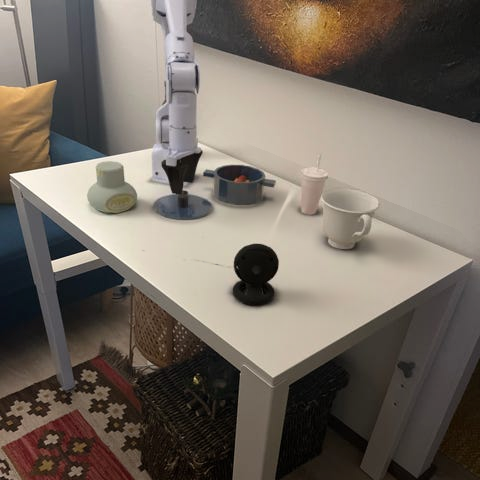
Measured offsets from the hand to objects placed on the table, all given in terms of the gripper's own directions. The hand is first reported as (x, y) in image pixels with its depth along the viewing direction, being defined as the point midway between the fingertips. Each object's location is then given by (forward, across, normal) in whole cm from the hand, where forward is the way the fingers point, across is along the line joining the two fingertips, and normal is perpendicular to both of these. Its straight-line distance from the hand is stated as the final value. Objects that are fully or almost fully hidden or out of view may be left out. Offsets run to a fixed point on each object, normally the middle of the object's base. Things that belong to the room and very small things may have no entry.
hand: (182, 187), depth 113 cm
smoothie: (+6, +11, -28) cm, 31 cm away
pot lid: (+5, 0, 0) cm, 5 cm away
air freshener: (+6, -6, +15) cm, 17 cm away
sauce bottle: (+5, +35, +16) cm, 39 cm away
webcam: (+6, -29, -24) cm, 38 cm away
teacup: (+6, -4, -38) cm, 39 cm away
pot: (+5, +13, -10) cm, 17 cm away
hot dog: (+5, +13, -10) cm, 17 cm away
